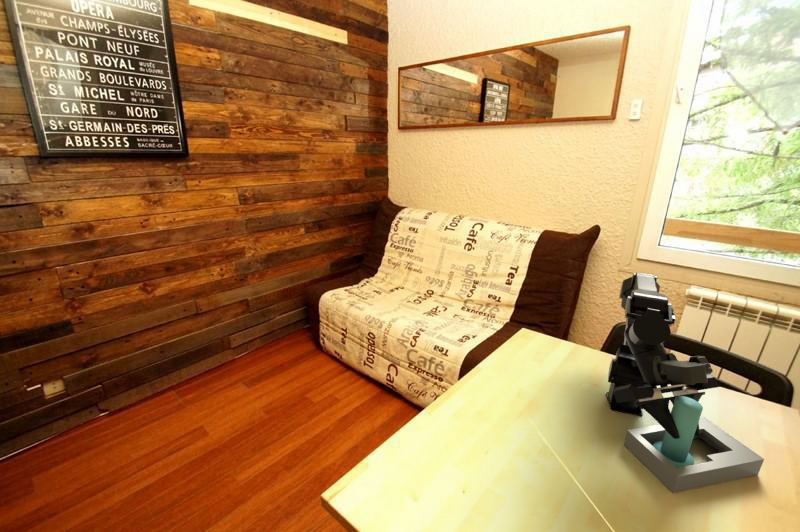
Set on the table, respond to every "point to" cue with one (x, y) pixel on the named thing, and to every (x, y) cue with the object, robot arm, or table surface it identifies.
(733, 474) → the keyhole plate
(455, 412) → the table surface
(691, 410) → the peg
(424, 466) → the table surface
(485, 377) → the table surface
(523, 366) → the table surface
